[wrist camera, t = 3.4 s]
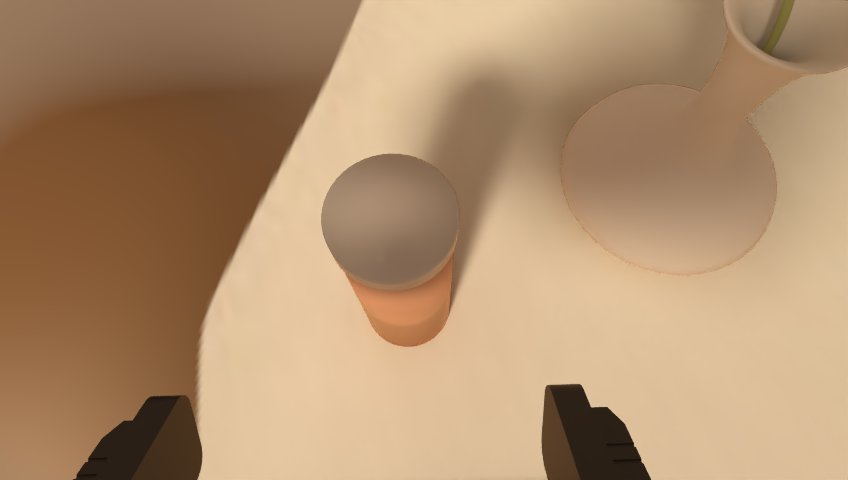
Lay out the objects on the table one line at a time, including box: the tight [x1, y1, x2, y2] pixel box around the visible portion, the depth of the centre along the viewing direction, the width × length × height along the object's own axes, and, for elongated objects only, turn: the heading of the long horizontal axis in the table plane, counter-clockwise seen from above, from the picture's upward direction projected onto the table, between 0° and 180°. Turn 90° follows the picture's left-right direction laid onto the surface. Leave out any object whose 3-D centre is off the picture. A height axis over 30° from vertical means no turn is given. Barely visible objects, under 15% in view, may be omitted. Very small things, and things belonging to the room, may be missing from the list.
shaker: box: [321, 154, 459, 347], centre depth 24 cm, size 5×5×12 cm
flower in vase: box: [560, 0, 848, 275], centre depth 21 cm, size 13×11×25 cm
